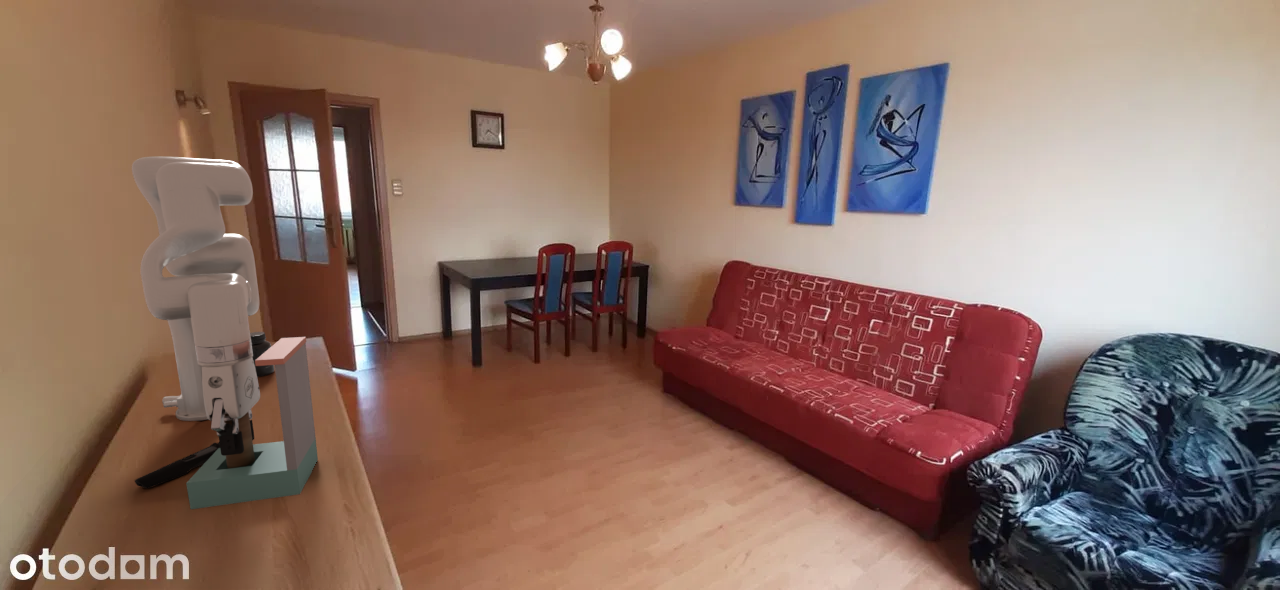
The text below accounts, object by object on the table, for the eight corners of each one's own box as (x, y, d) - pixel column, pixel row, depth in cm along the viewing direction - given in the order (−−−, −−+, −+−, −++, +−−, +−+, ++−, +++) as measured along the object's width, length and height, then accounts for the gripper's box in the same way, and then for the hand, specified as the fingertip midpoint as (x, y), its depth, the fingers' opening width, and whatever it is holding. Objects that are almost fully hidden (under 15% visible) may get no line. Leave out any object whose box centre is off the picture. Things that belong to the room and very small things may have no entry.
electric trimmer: (130, 492, 90) (127, 477, 89) (222, 450, 104) (220, 436, 104) (145, 497, 89) (142, 481, 88) (235, 453, 103) (233, 439, 103)
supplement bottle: (269, 367, 150) (264, 329, 147) (278, 373, 146) (273, 333, 143) (241, 373, 144) (236, 333, 142) (250, 379, 140) (244, 338, 138)
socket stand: (189, 511, 85) (164, 365, 79) (223, 470, 97) (204, 342, 91) (299, 495, 90) (283, 358, 84) (318, 459, 102) (305, 336, 96)
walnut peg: (223, 470, 89) (215, 418, 87) (232, 459, 93) (225, 408, 91) (250, 466, 90) (242, 415, 88) (258, 455, 94) (251, 406, 92)
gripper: (230, 365, 81) (244, 468, 84) (268, 336, 96) (278, 424, 100) (172, 369, 78) (189, 475, 82) (220, 339, 94) (233, 429, 97)
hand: (238, 446), depth 91 cm, fingers closed on walnut peg, 4 cm apart
